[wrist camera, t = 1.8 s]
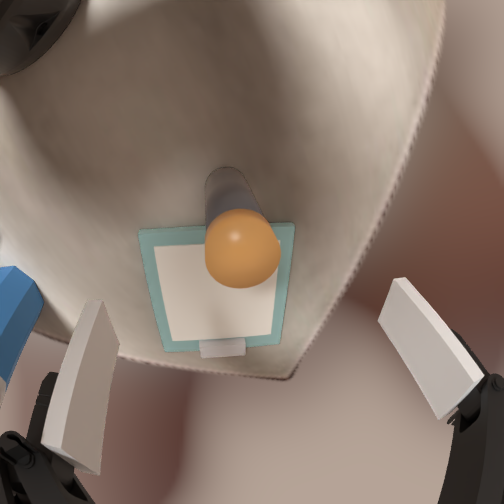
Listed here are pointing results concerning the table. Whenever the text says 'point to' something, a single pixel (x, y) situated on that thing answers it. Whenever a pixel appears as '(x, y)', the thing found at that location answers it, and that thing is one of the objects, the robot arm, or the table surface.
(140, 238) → the clipboard
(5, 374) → the water bottle
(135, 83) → the table surface
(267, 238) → the marker
